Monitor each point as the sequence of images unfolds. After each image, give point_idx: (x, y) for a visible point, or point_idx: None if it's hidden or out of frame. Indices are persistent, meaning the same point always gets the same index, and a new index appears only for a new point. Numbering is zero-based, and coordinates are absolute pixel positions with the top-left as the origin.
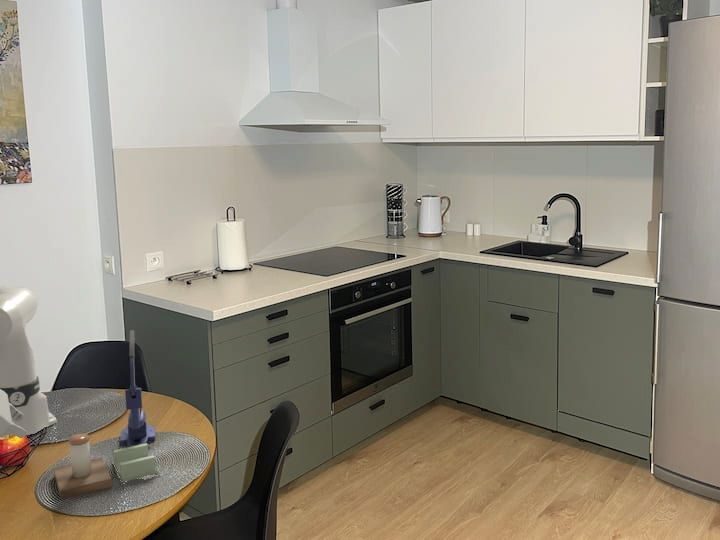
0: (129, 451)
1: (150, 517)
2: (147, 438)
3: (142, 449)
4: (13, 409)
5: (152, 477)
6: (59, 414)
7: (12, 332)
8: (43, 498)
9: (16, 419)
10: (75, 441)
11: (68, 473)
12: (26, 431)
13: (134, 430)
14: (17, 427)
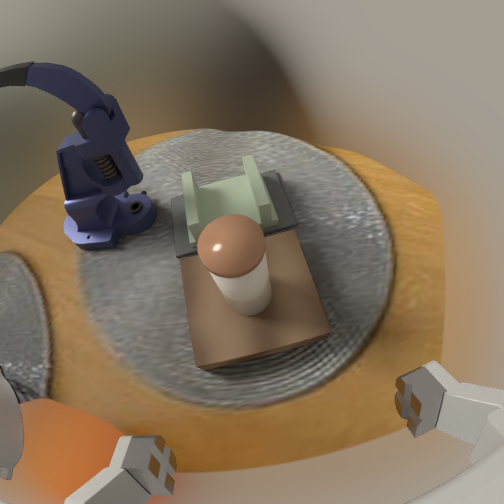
0: (196, 200)
1: (399, 181)
2: (126, 198)
3: (194, 183)
4: (112, 491)
5: (274, 180)
6: None
7: None
8: (303, 381)
9: (167, 472)
10: (258, 247)
11: (239, 326)
12: (423, 365)
13: (103, 209)
14: (485, 390)
